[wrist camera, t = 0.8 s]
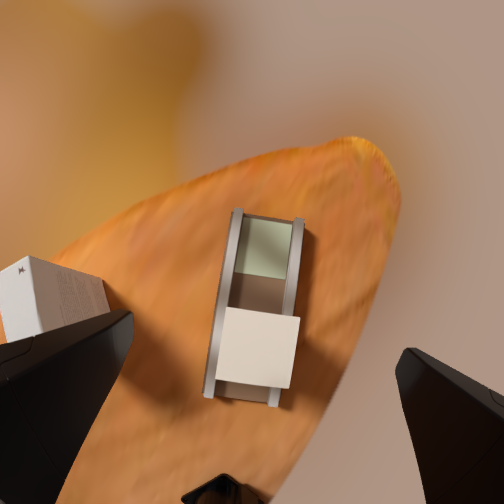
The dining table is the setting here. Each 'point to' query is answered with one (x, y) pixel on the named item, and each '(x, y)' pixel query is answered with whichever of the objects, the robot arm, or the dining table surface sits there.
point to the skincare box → (47, 297)
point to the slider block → (257, 348)
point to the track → (254, 288)
